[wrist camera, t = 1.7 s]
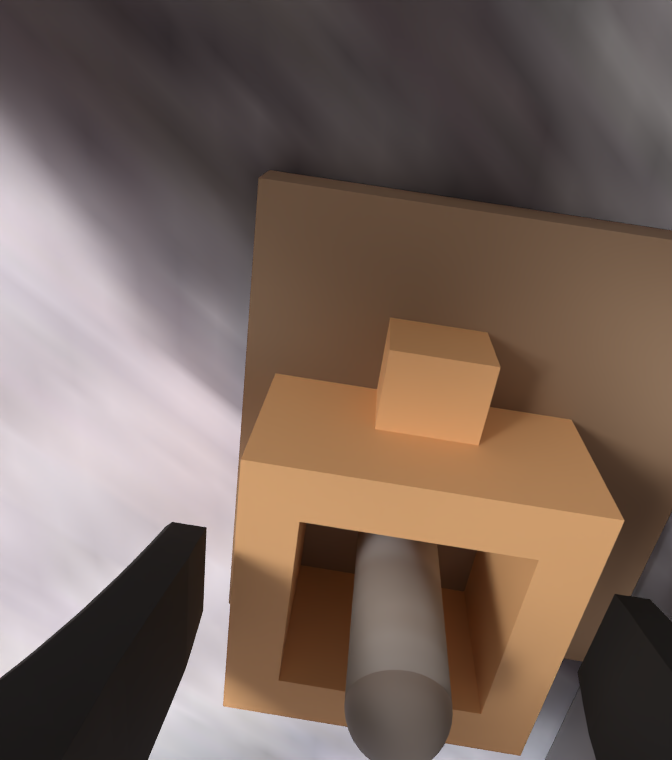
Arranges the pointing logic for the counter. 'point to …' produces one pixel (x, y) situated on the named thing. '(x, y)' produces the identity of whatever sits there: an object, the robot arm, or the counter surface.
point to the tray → (573, 735)
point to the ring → (416, 532)
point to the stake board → (512, 392)
